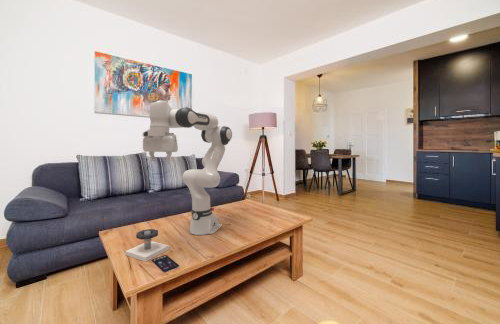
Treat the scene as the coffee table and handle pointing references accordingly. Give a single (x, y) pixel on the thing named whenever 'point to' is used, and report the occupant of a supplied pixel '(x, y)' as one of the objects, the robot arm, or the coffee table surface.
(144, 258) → the pipe stand
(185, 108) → the robot arm
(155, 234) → the ring
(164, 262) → the smartphone
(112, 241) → the coffee table surface
